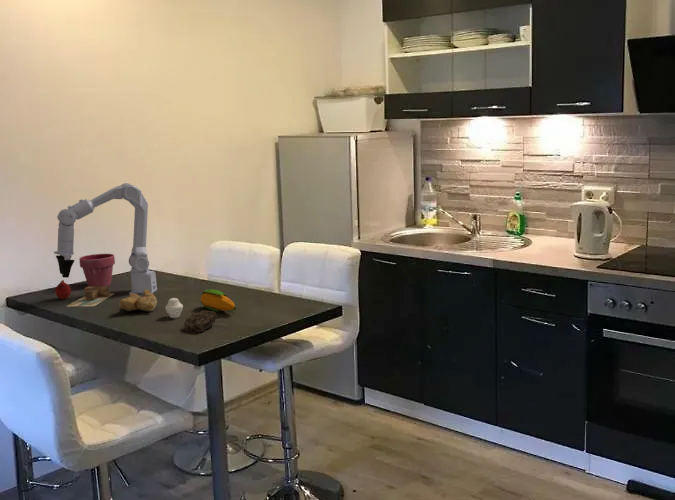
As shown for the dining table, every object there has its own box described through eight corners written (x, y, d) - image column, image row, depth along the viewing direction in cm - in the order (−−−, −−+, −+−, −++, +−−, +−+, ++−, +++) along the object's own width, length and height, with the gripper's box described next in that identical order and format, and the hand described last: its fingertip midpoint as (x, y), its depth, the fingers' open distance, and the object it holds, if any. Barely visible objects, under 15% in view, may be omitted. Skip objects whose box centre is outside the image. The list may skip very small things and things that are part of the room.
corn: (211, 284, 273) (242, 292, 259) (214, 303, 275) (244, 313, 261) (194, 289, 269) (224, 298, 254) (197, 308, 270) (227, 318, 256)
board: (114, 295, 294) (114, 293, 294) (94, 307, 275) (93, 306, 275) (88, 295, 295) (88, 293, 295) (66, 307, 276) (66, 306, 276)
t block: (109, 295, 292) (109, 286, 291) (100, 300, 283) (100, 291, 283) (88, 295, 293) (87, 286, 292) (78, 300, 284) (77, 291, 284)
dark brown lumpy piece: (201, 321, 252) (200, 307, 251) (222, 325, 247) (221, 311, 246) (176, 330, 243) (175, 315, 242) (198, 334, 237) (197, 319, 236)
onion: (66, 302, 285) (64, 282, 283) (53, 302, 286) (51, 282, 285) (74, 298, 291) (72, 278, 289) (61, 298, 292) (59, 278, 290)
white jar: (174, 320, 255) (173, 300, 254) (162, 318, 258) (160, 298, 257) (187, 315, 260) (186, 296, 259) (174, 313, 263) (173, 294, 262)
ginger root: (147, 314, 259) (141, 292, 259) (111, 321, 265) (106, 300, 265) (172, 304, 273) (166, 283, 273) (138, 311, 280) (132, 291, 279)
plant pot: (91, 281, 319) (89, 253, 317) (122, 281, 317) (119, 252, 315) (76, 289, 305) (72, 259, 303) (107, 289, 303) (105, 259, 301)
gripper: (52, 237, 285) (51, 272, 287) (56, 243, 272) (55, 279, 274) (71, 238, 288) (70, 272, 290) (76, 243, 275) (75, 279, 277)
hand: (64, 275), depth 282 cm, fingers open, 7 cm apart
